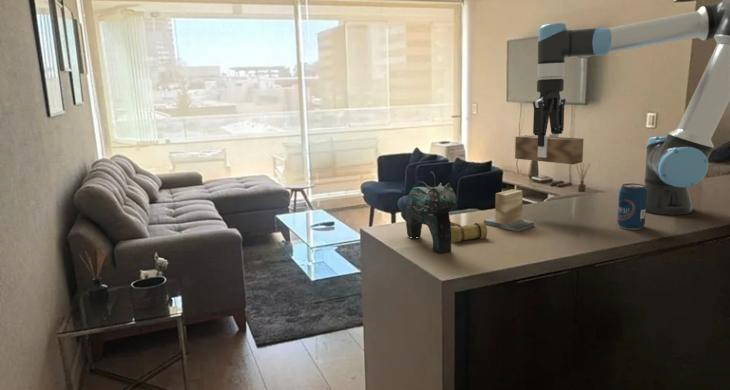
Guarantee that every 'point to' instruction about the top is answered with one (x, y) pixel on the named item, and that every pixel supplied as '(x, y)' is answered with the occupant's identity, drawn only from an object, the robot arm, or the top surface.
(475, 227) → the gavel
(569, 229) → the top surface
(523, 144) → the walnut beam
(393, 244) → the top surface
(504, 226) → the fulcrum
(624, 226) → the soda can
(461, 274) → the top surface
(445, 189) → the ceramic cat
